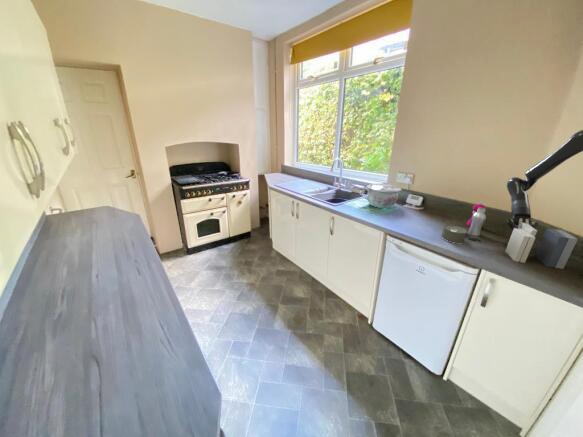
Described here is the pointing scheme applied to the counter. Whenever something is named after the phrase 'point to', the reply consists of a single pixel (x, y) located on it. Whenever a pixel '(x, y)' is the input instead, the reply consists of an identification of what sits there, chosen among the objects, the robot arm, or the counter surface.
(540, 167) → the robot arm
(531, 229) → the white book
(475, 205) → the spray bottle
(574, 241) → the grey books
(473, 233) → the plastic bottle
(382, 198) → the chamber pot
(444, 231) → the can
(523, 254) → the white books
